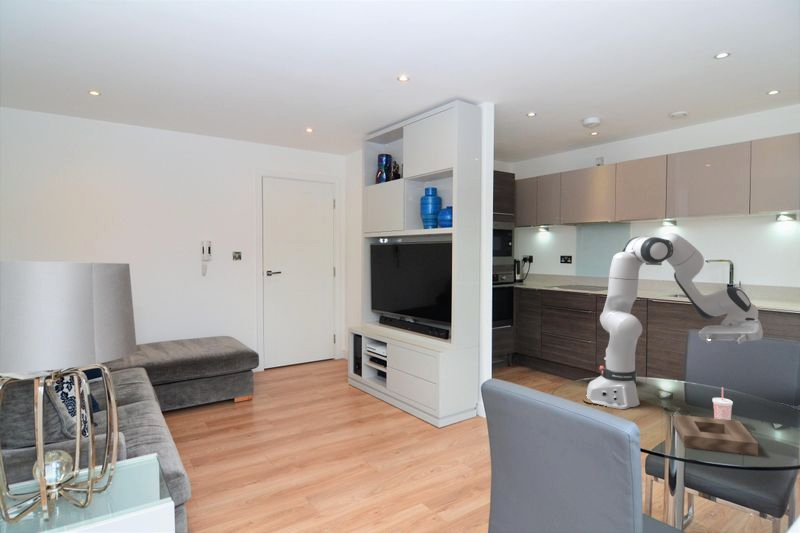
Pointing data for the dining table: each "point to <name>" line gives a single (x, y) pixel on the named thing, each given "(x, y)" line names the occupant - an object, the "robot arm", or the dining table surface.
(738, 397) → the dining table surface
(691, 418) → the walnut tray
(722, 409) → the beverage cup
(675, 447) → the dining table surface
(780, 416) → the dining table surface
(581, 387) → the dining table surface
